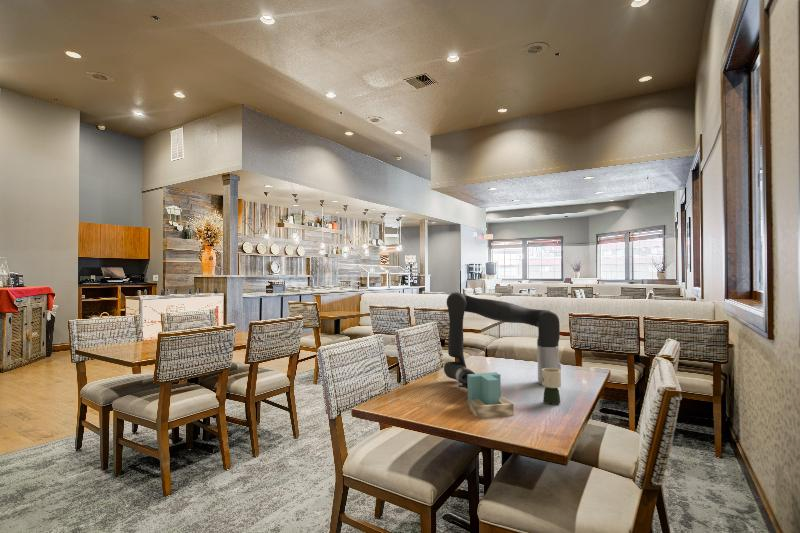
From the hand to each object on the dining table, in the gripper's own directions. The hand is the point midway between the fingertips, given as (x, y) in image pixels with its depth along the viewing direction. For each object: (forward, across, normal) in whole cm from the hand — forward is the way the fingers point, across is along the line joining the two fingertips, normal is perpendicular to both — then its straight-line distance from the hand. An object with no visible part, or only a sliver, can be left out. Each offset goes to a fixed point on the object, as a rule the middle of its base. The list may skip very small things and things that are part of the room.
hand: (480, 388), depth 167 cm
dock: (+11, 0, -6) cm, 12 cm away
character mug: (+5, -27, -6) cm, 28 cm away
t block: (+5, -1, -6) cm, 8 cm away
